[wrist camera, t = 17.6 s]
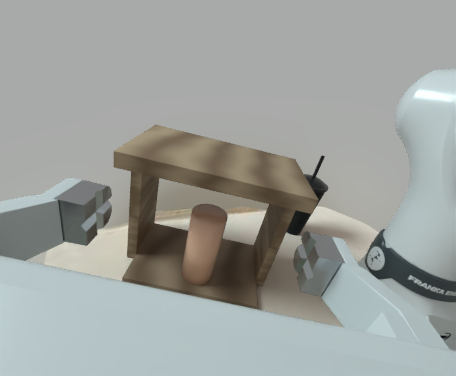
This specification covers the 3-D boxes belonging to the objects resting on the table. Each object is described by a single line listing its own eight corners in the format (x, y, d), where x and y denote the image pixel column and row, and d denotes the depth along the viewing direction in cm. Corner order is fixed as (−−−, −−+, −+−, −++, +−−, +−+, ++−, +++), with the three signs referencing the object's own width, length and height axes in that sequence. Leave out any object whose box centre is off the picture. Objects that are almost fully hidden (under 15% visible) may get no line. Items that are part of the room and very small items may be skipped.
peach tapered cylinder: (213, 263, 42) (228, 207, 36) (210, 287, 37) (226, 228, 32) (184, 258, 41) (194, 201, 36) (178, 282, 37) (188, 220, 31)
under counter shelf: (259, 250, 49) (295, 159, 40) (264, 312, 37) (318, 200, 27) (146, 225, 48) (155, 124, 39) (112, 280, 35) (113, 150, 26)
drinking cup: (271, 227, 58) (301, 152, 49) (282, 216, 64) (310, 147, 55) (300, 243, 55) (338, 166, 46) (308, 229, 61) (343, 159, 52)
